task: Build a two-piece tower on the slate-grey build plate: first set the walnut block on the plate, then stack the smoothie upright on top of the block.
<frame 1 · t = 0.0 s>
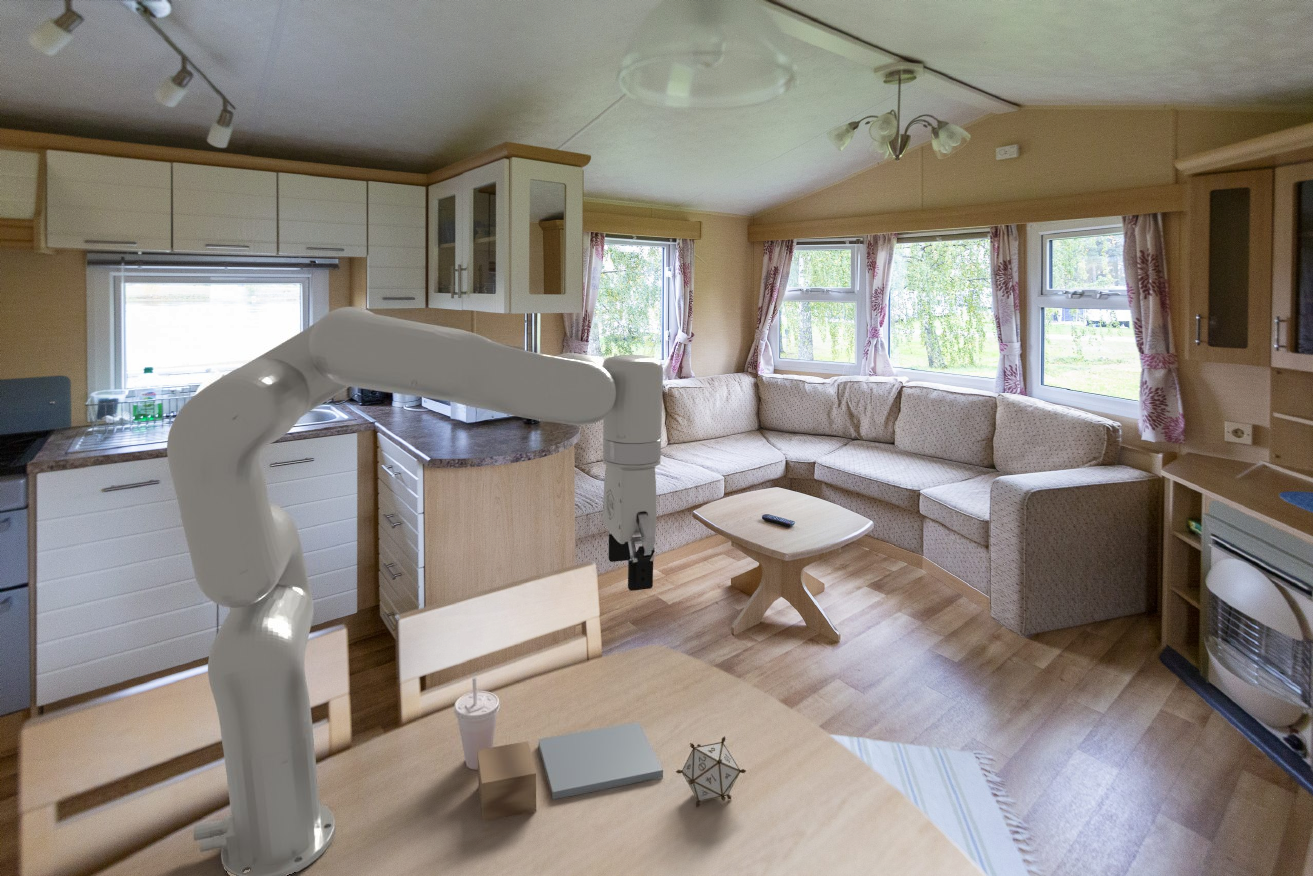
hand: (629, 573, 97), 31 cm above the table, fingers open, 9 cm apart
smoothie: (478, 762, 106), on the table
walnut block: (506, 799, 99), on the table
game die: (709, 797, 101), on the table
build plate: (599, 761, 107), on the table
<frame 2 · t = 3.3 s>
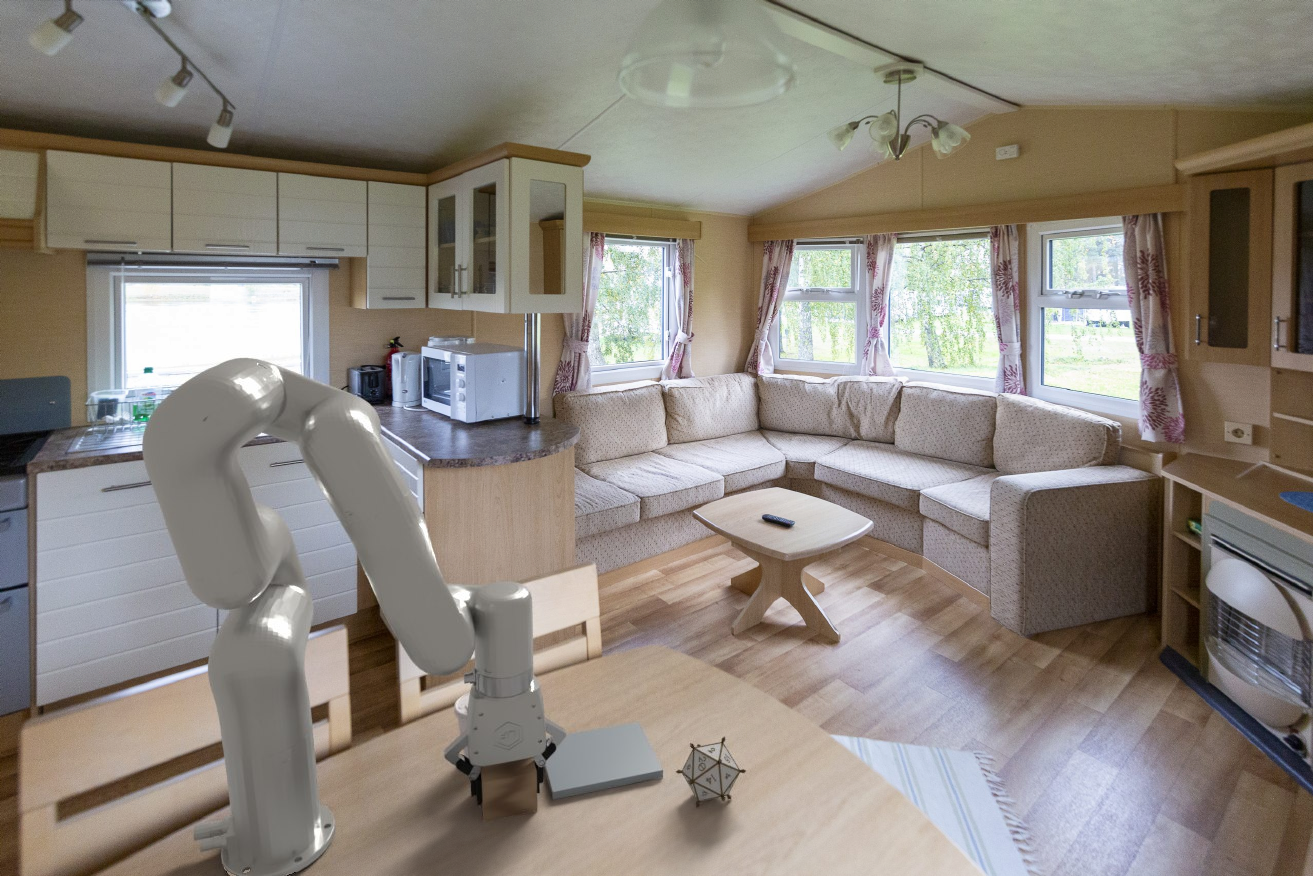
hand: (507, 791, 99), 1 cm above the table, fingers closed on walnut block, 7 cm apart
walnut block: (507, 798, 99), on the table, touching gripper
everything else where it was.
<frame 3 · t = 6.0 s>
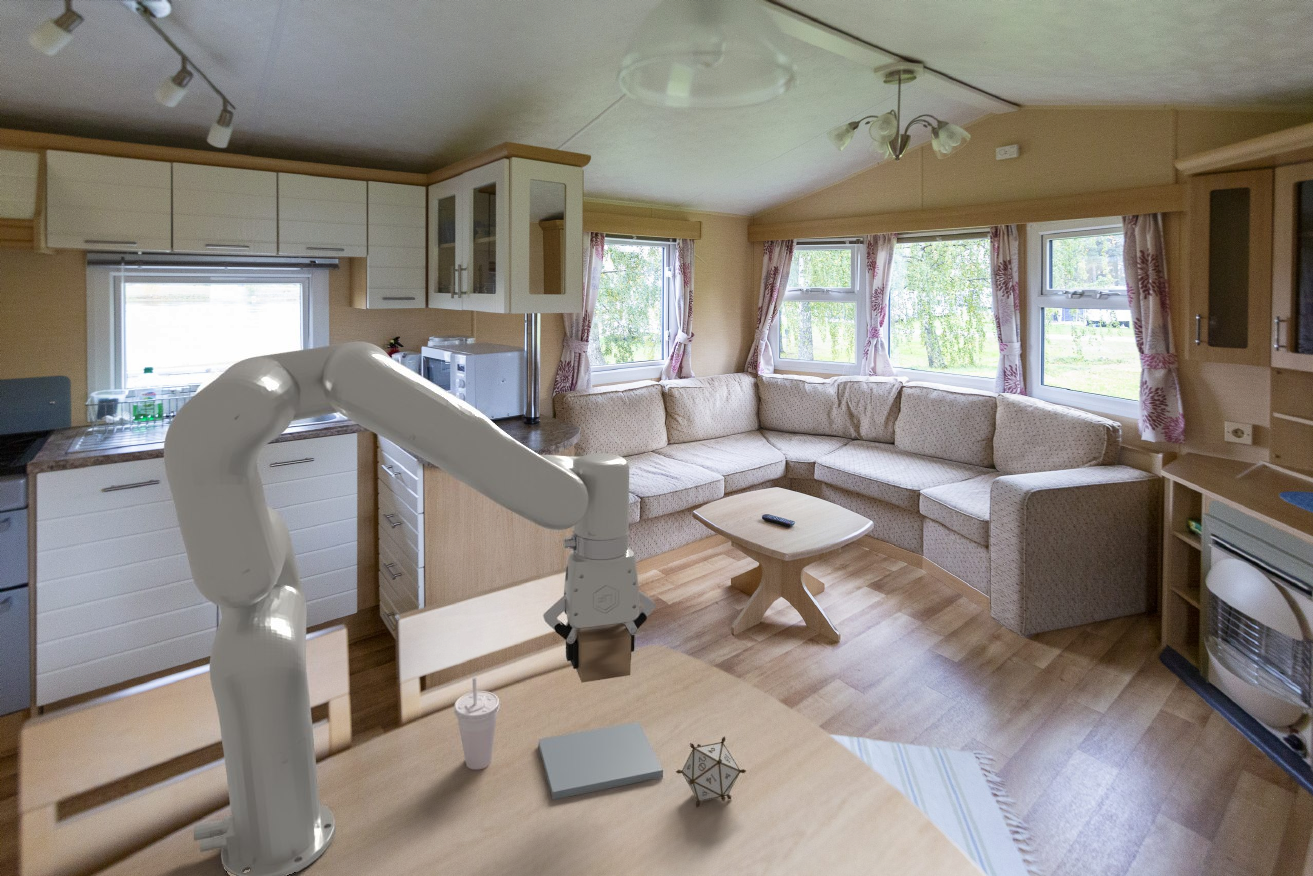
hand: (600, 659, 103), 17 cm above the table, fingers closed on walnut block, 7 cm apart
walnut block: (600, 666, 104), point 16 cm above the table, touching gripper
everything else where it was.
when the fingers open (3 cm above the table, at t = 8.9 s): walnut block stays where it is, resting on build plate.
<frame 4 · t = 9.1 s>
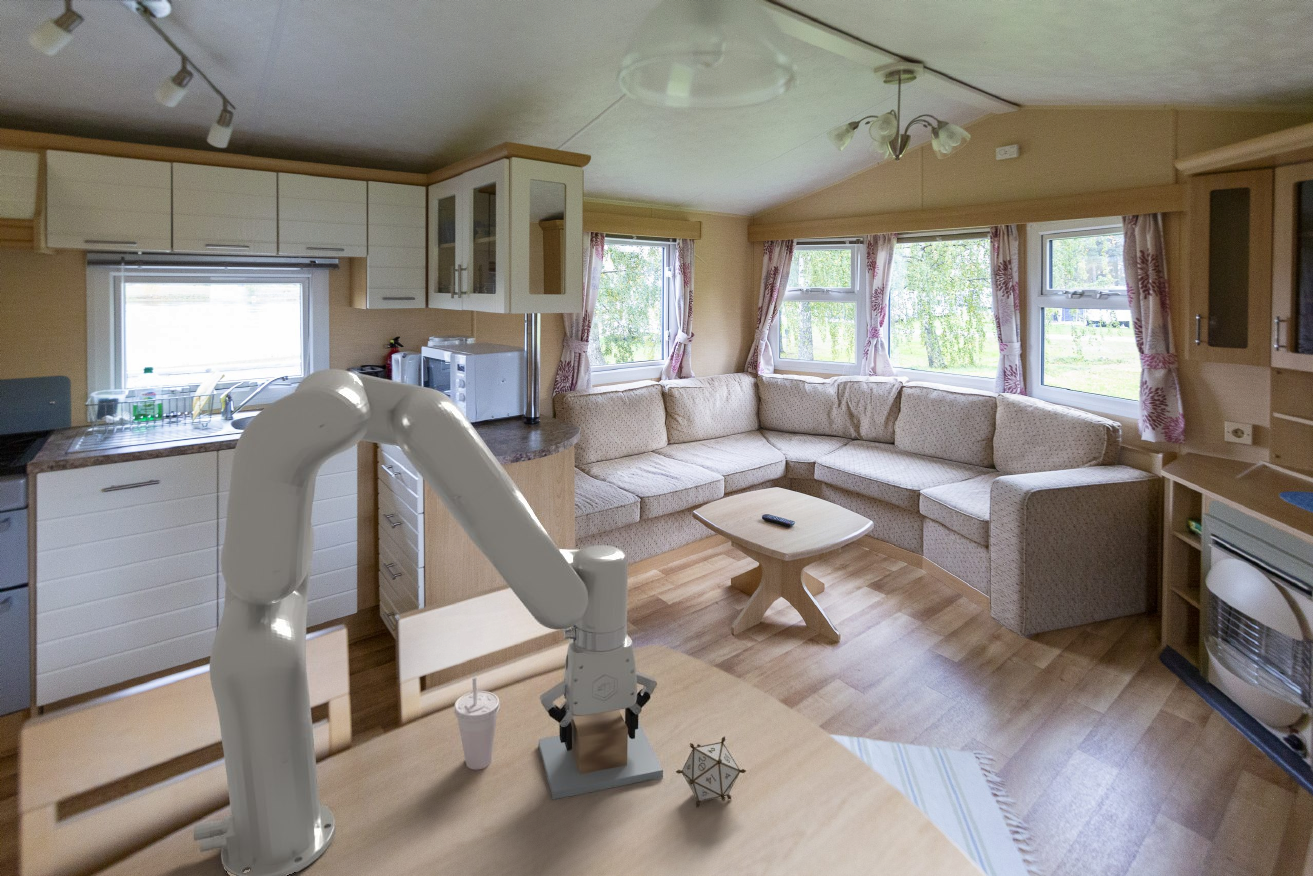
hand: (599, 739, 106), 4 cm above the table, fingers open, 9 cm apart
walnut block: (597, 754, 107), point 1 cm above the table, touching build plate
everything else where it was.
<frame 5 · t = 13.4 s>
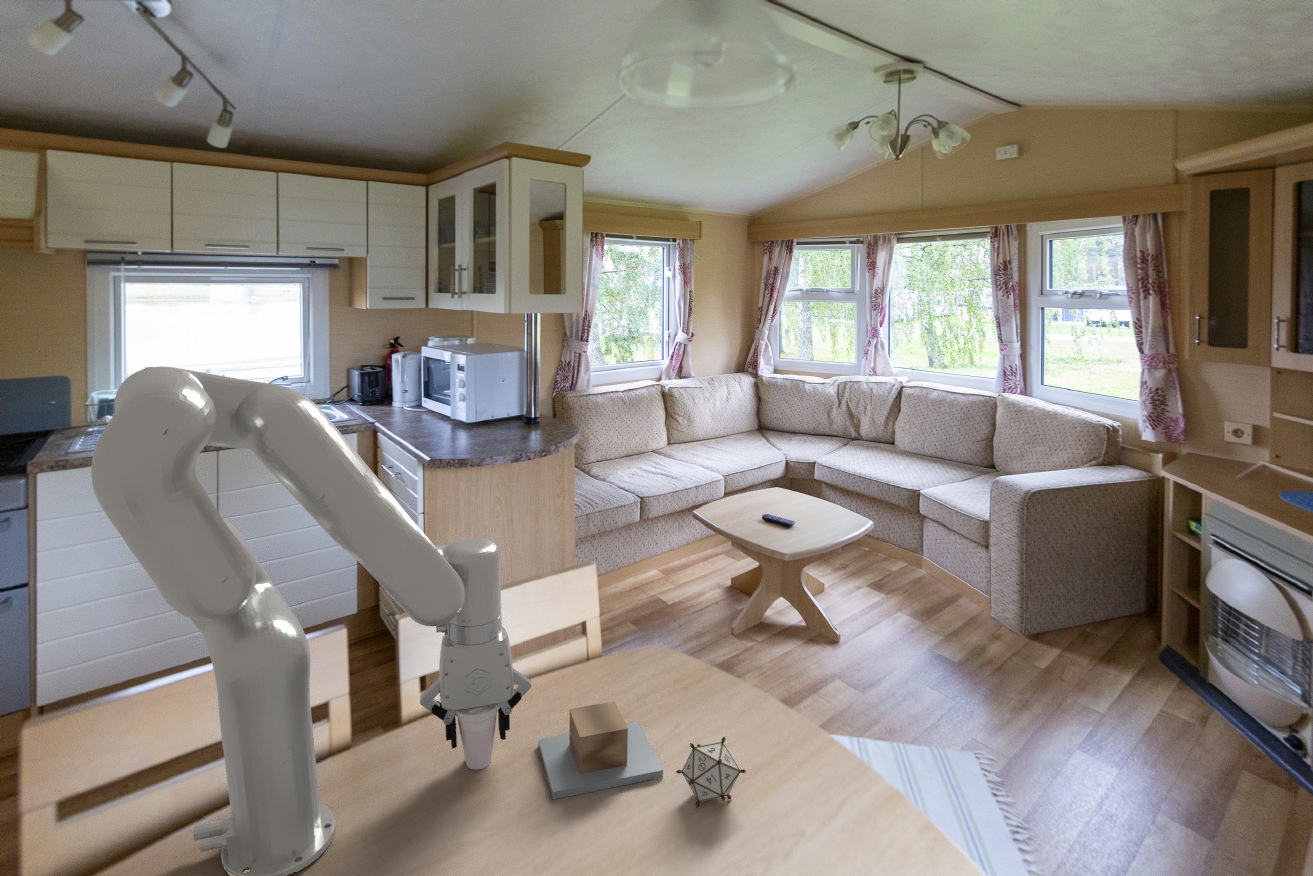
hand: (478, 737, 105), 4 cm above the table, fingers closed on smoothie, 6 cm apart
smoothie: (478, 762, 106), on the table, touching gripper
everything else where it was.
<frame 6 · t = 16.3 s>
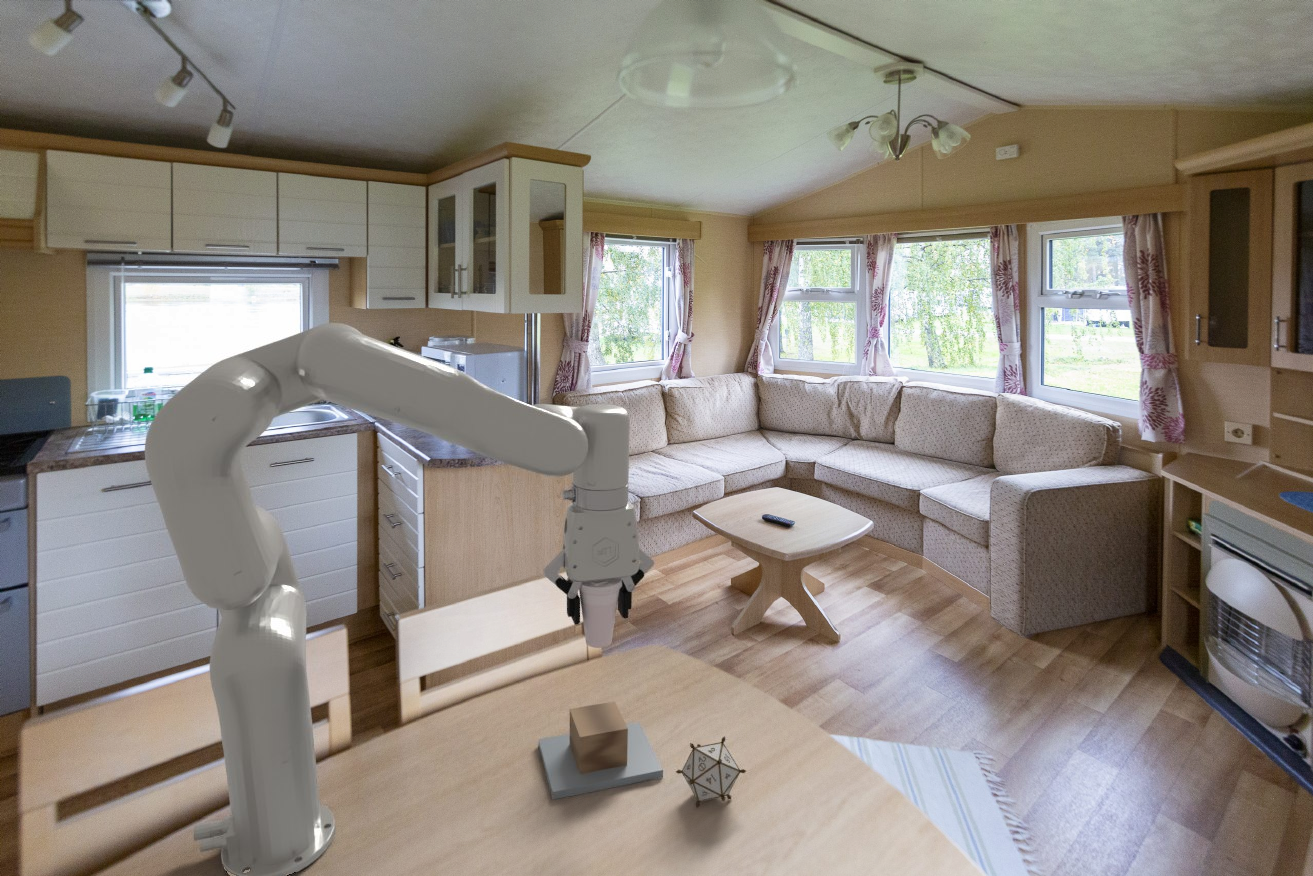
hand: (599, 616, 102), 23 cm above the table, fingers closed on smoothie, 6 cm apart
smoothie: (598, 642, 103), point 19 cm above the table, touching gripper
everything else where it was.
when the fingers open (12 cm above the table, at t = 19.4 s): smoothie stays where it is, resting on walnut block.
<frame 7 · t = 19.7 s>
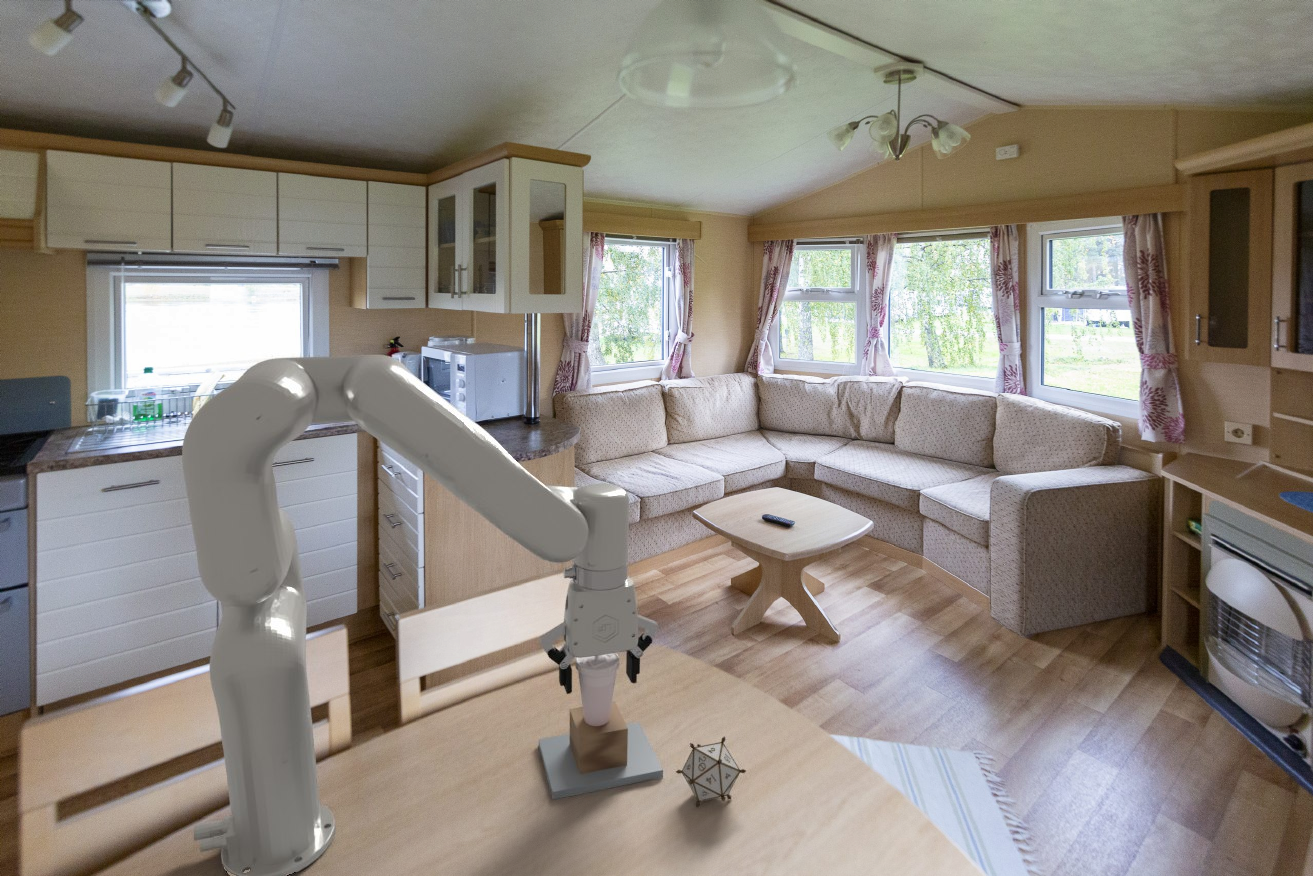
hand: (599, 683, 104), 13 cm above the table, fingers open, 9 cm apart
smoothie: (597, 719, 105), point 7 cm above the table, touching walnut block
walnut block: (597, 754, 107), point 1 cm above the table, touching build plate, smoothie
everything else where it was.
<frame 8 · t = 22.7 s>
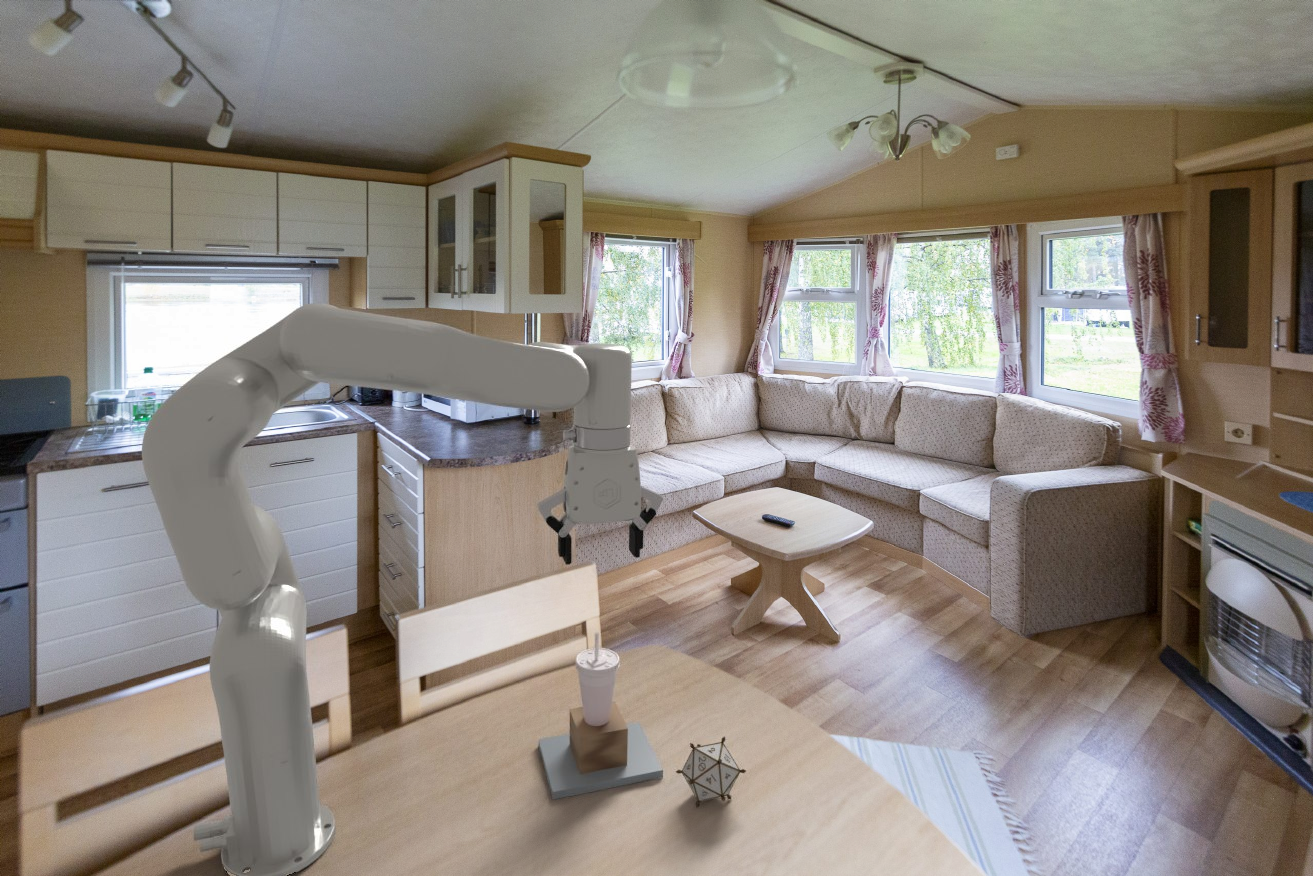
hand: (600, 557, 100), 32 cm above the table, fingers open, 9 cm apart
nothing on the table moved.
at the end: walnut block inside the target area on the build plate (0.2 cm from its centre), point 1.2 cm above the build plate's base; smoothie 0.1 cm off-centre on the walnut block, point 5.8 cm above the walnut block's base; smoothie tilted 0° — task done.
